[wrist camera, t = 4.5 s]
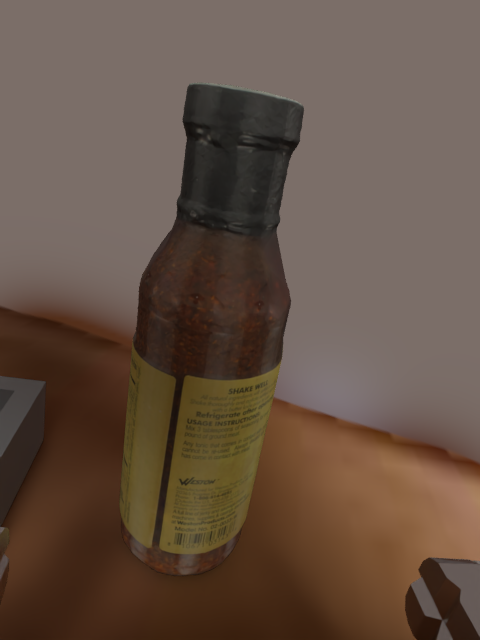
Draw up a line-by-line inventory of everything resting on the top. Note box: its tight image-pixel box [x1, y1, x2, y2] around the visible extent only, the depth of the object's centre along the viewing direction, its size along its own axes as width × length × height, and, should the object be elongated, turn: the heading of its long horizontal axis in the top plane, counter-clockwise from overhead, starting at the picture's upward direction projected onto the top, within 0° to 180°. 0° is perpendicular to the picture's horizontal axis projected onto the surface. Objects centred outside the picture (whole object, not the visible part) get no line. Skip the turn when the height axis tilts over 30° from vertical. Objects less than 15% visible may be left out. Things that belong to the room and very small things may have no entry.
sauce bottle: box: [119, 83, 304, 576], centre depth 18 cm, size 7×6×20 cm
